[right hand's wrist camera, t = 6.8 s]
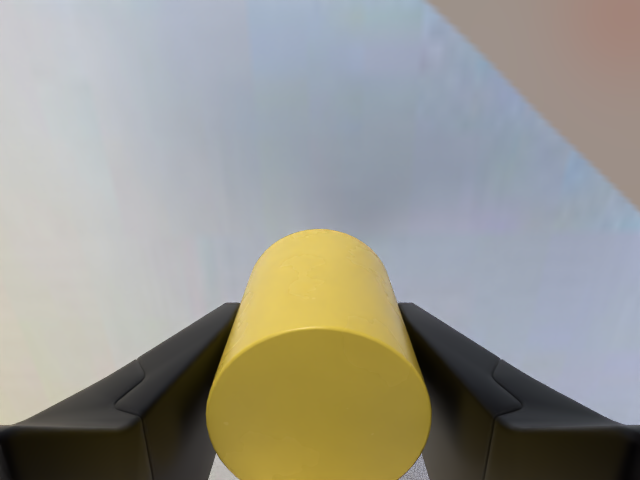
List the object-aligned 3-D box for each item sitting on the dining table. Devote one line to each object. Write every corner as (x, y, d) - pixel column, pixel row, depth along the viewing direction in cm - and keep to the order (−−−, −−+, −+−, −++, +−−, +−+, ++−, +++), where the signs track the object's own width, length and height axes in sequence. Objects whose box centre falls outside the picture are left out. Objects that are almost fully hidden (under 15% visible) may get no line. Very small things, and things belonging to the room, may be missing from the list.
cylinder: (316, 197, 11) (314, 280, 7) (420, 293, 12) (480, 422, 8) (219, 297, 12) (159, 427, 8) (321, 378, 13) (322, 536, 9)
